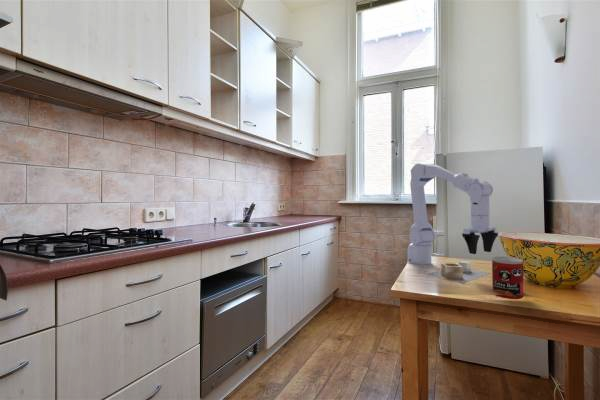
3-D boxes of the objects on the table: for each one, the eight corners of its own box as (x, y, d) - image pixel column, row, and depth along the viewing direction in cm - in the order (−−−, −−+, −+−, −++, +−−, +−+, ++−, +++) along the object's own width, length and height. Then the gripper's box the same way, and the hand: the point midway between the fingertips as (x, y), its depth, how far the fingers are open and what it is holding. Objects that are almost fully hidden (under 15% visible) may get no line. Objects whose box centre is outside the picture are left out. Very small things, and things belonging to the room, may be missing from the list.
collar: (445, 277, 105) (445, 266, 105) (441, 273, 111) (441, 262, 111) (462, 278, 104) (462, 266, 104) (457, 273, 110) (457, 263, 110)
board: (426, 277, 110) (426, 274, 110) (453, 268, 122) (453, 266, 122) (465, 286, 99) (464, 282, 99) (491, 276, 111) (491, 272, 111)
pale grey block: (459, 271, 114) (459, 262, 114) (463, 269, 116) (462, 260, 115) (467, 272, 111) (467, 263, 111) (471, 271, 113) (471, 262, 113)
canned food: (489, 295, 90) (489, 259, 90) (495, 289, 95) (495, 255, 95) (520, 301, 84) (520, 263, 84) (525, 294, 90) (525, 258, 90)
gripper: (476, 216, 101) (476, 256, 101) (504, 215, 106) (504, 252, 106) (457, 215, 107) (458, 252, 107) (485, 213, 113) (486, 249, 113)
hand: (480, 252), depth 107 cm, fingers open, 7 cm apart
